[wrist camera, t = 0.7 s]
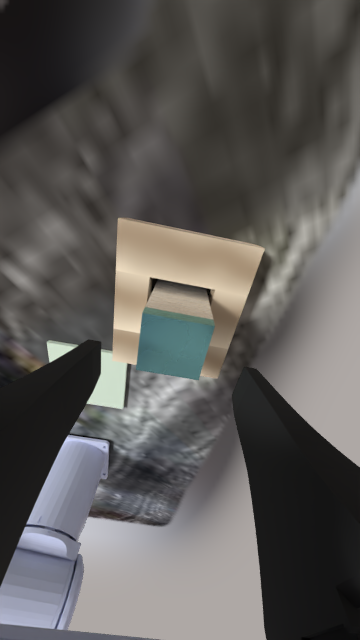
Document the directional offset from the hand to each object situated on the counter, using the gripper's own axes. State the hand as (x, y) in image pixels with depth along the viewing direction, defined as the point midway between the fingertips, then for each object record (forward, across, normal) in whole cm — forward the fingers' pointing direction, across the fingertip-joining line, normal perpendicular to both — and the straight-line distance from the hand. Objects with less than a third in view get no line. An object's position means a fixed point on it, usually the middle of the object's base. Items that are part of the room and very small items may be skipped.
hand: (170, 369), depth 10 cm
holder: (+9, 0, 0) cm, 9 cm away
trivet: (+9, +8, +11) cm, 16 cm away
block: (+9, 0, 0) cm, 9 cm away
